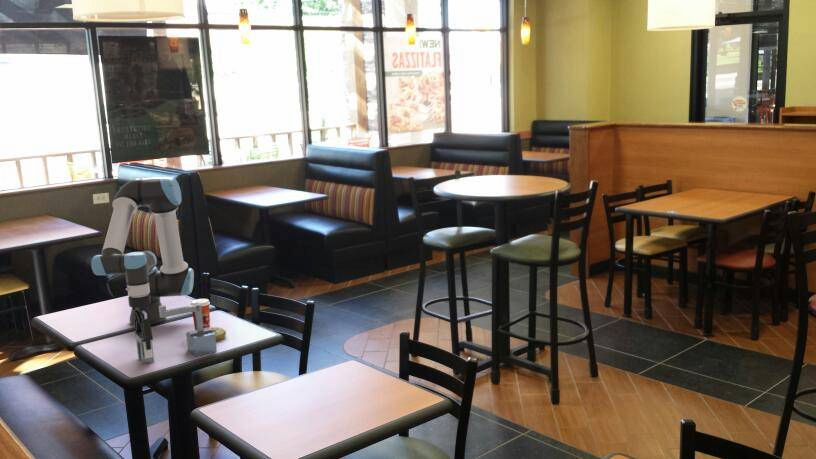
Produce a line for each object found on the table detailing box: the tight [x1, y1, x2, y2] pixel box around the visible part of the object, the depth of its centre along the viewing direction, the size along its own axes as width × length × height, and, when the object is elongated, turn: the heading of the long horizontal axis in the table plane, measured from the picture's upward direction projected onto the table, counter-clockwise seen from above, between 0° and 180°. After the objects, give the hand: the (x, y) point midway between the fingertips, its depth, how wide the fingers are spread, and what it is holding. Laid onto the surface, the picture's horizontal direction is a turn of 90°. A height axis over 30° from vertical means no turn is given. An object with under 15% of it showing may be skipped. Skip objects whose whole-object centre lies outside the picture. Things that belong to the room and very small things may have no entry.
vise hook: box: [159, 304, 218, 357], centre depth 275 cm, size 10×18×20 cm, turn 124°
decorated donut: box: [210, 326, 227, 342], centre depth 294 cm, size 10×11×4 cm
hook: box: [135, 332, 155, 365], centre depth 271 cm, size 7×4×10 cm, turn 33°
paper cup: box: [190, 298, 211, 330], centre depth 299 cm, size 8×8×14 cm
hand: (145, 353), depth 271 cm, fingers open, 9 cm apart
